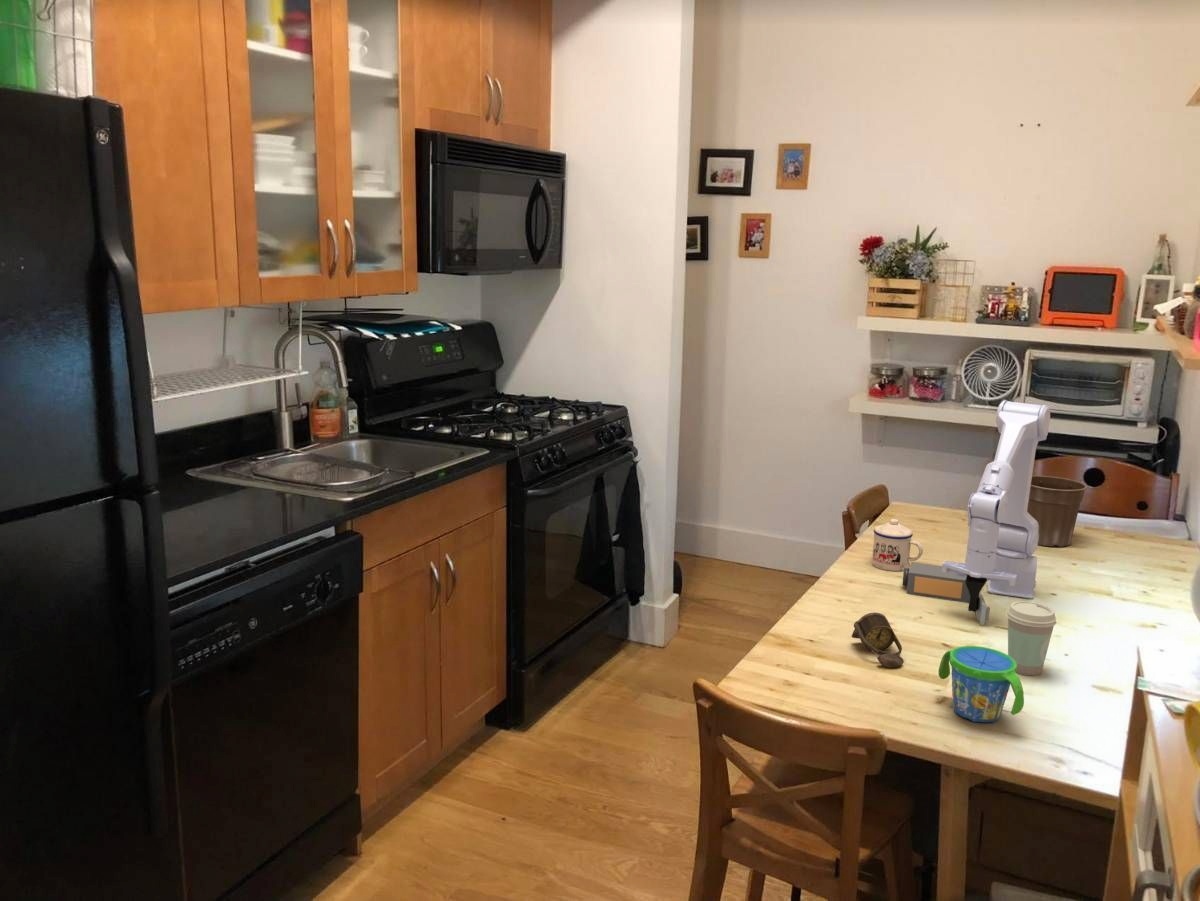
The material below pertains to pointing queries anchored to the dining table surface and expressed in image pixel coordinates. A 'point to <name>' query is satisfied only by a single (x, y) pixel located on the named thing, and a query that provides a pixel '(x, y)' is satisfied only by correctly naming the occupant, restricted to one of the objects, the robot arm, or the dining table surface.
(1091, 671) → the dining table surface
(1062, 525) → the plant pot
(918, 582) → the camera body
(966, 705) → the snack cup
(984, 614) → the grey long bar
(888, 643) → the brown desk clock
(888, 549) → the teacup with lid
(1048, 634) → the coffee cup
